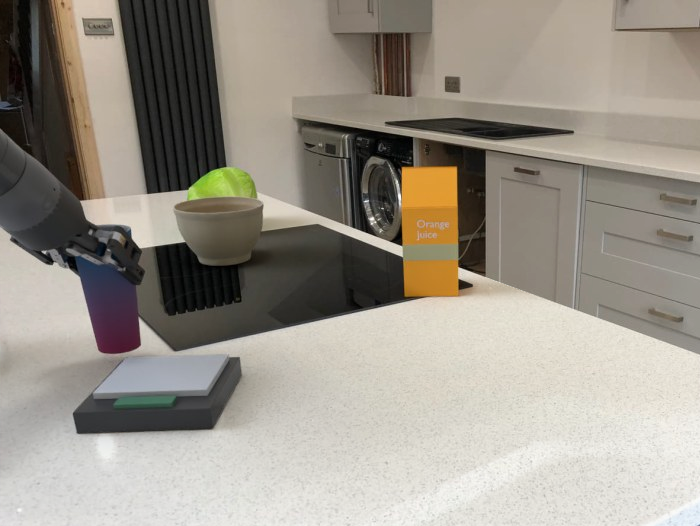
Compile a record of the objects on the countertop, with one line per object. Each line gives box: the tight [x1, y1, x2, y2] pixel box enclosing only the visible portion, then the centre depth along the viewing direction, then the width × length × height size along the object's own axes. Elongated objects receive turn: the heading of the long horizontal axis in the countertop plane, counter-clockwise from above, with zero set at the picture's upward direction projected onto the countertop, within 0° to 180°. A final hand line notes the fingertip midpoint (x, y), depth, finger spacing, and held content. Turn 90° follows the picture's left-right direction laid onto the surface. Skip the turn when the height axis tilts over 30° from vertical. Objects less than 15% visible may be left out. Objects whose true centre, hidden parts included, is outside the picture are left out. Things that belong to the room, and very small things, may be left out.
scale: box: [72, 353, 243, 434], centre depth 82 cm, size 14×14×3 cm
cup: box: [75, 223, 142, 355], centre depth 90 cm, size 7×7×15 cm
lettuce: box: [186, 166, 258, 201], centre depth 164 cm, size 15×20×14 cm
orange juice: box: [400, 165, 459, 298], centre depth 118 cm, size 8×9×20 cm
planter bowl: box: [172, 196, 265, 267], centre depth 138 cm, size 16×16×11 cm
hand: (115, 277), depth 91 cm, fingers closed on cup, 6 cm apart
